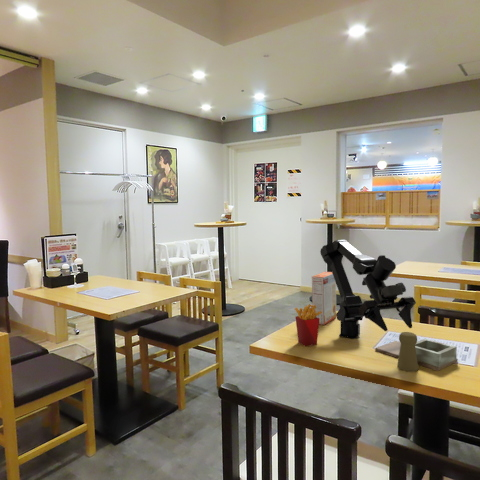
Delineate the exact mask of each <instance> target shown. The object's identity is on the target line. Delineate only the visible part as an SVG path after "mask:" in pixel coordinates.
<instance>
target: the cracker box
mask: <svg viewBox="0 0 480 480" xmlns="http://www.w3.org/2000/svg"><path fill="white" fill-rule="evenodd" d="M311 296H312V299H311V302H312V303H311V305H313V306H314V305H315V306H316V308H315V312H316V313H317V312H319V311H322V313H321V314H319V315H318V316H316V317H317V318H319V325H322V326H325V325H326V324H329V323H330V322H331V321H333V320H334V319H337V316H336V314H337V285H336V282H335V279H334V276H333V273H332V271H323V272H320V273H318V274H315V275H313V276H311Z"/></svg>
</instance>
